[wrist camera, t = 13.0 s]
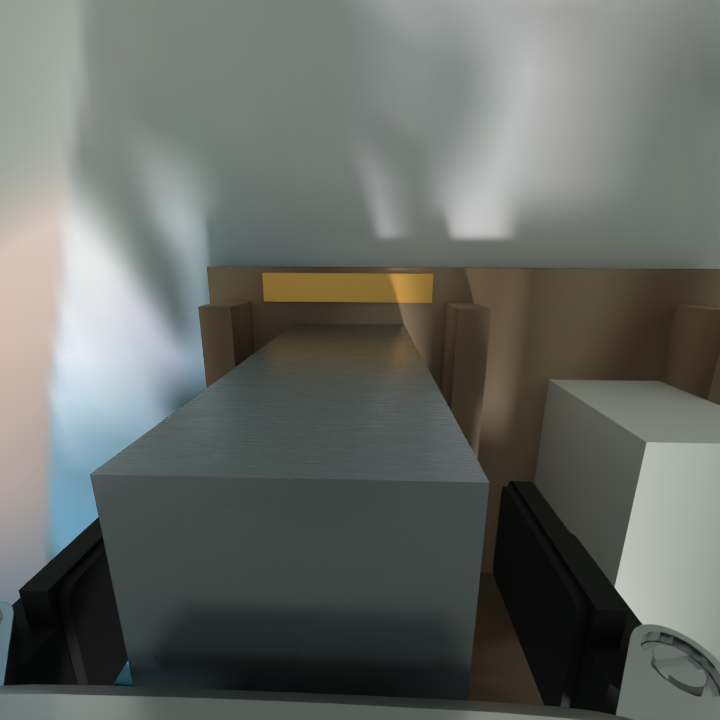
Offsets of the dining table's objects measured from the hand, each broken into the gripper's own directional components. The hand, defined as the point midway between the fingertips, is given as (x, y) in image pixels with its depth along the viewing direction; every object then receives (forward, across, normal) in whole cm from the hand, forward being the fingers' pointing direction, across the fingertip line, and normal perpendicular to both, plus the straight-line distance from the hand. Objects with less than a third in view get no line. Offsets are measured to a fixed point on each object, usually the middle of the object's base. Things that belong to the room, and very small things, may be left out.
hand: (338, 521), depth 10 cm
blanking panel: (+4, 0, 0) cm, 4 cm away
